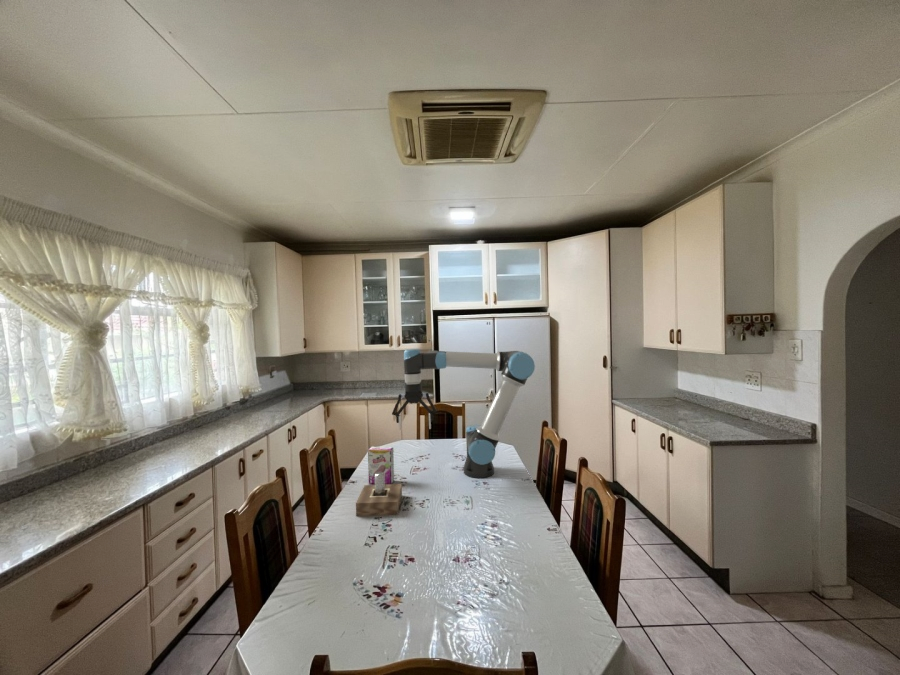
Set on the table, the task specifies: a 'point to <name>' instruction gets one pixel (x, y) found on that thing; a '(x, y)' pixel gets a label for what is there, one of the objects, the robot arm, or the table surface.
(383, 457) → the candy bar box
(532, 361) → the robot arm
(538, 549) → the table surface
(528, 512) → the table surface
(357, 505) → the block
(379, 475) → the pin
